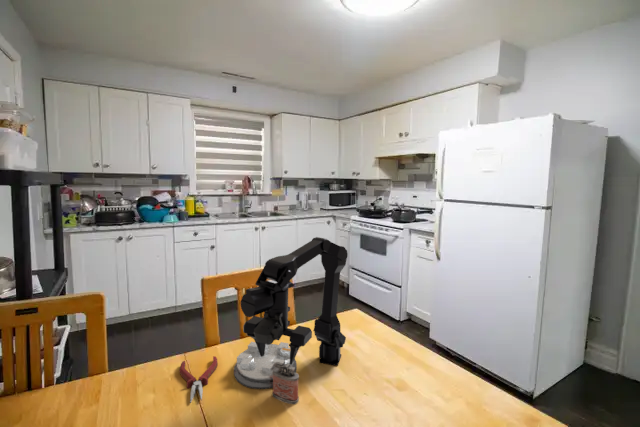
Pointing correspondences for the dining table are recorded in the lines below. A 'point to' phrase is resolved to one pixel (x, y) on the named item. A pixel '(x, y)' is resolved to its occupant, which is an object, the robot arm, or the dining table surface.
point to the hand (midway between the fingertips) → (276, 359)
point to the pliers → (201, 381)
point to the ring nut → (262, 361)
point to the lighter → (285, 383)
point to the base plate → (255, 384)
